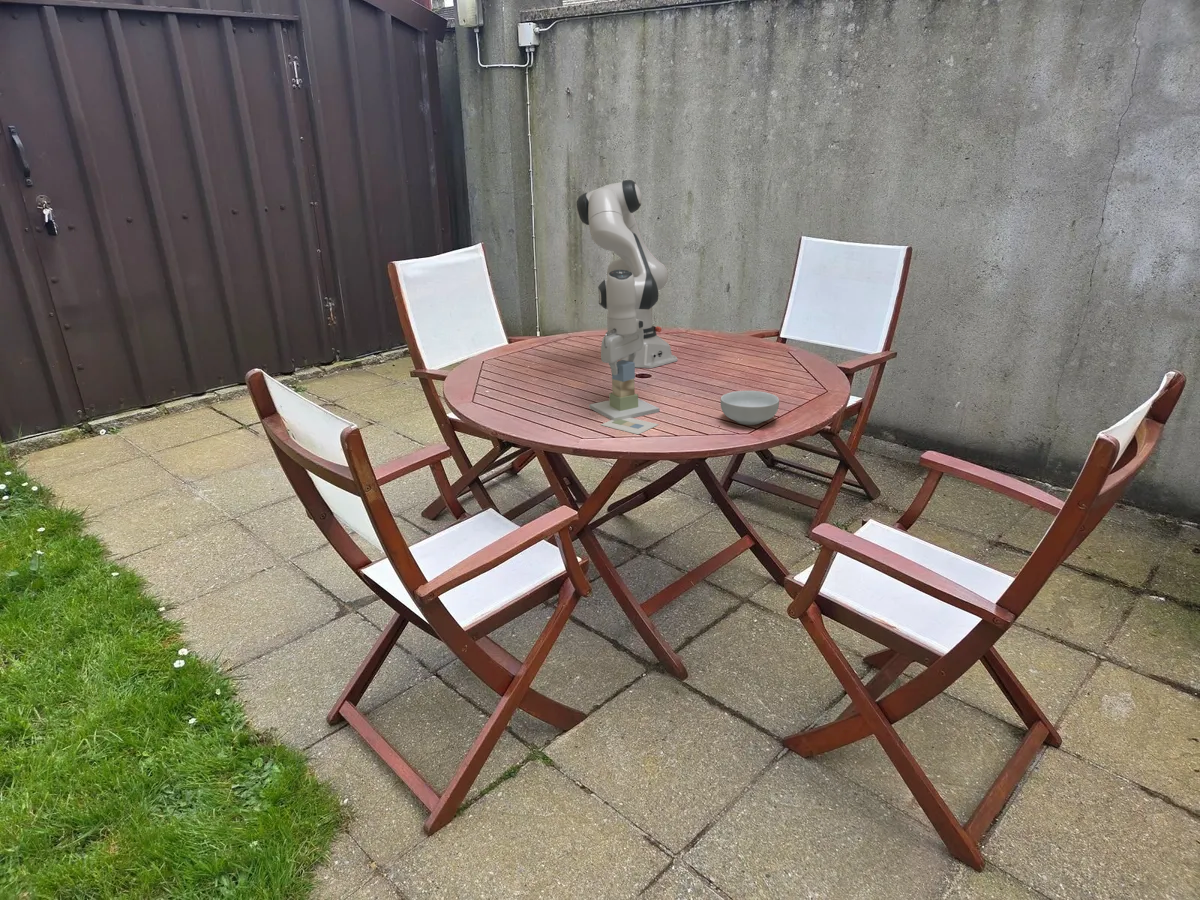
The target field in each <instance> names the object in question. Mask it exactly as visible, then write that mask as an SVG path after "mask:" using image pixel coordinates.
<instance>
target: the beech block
mask: <svg viewBox="0 0 1200 900" xmlns="http://www.w3.org/2000/svg"><path fill="white" fill-rule="evenodd" d="M611 380H612V381H611V383H612V385H611V386H612V387H611V388H612V389H611V391H612V392H611V393H612V394H614V395H617V396H619V397H626V396H630V395H635V394H636V392H635V378H634V379H631V380H628V381H625V382H622V381H618V380H614V379H612V378H611Z"/></svg>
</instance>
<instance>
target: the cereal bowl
mask: <svg viewBox="0 0 1200 900" xmlns="http://www.w3.org/2000/svg"><path fill="white" fill-rule="evenodd" d="M779 405H780V399H779V397H778V395H775V394H773V393H770V392H766V391H759V390H738V391H731V392H728V393H725V394H722V396H721V397H720V408H721V411H722V413H723V414H724V415H725V416H726V417H727V418H729V419H731V420H733V421H735V422H736V423H737V424H740V425H746V426H756V425H759V424H761V423H763V422H765V421H768V420H771V419H773V417H774V416H775V415H776V414H777V412H778V410H779V407H780V406H779Z"/></svg>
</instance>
